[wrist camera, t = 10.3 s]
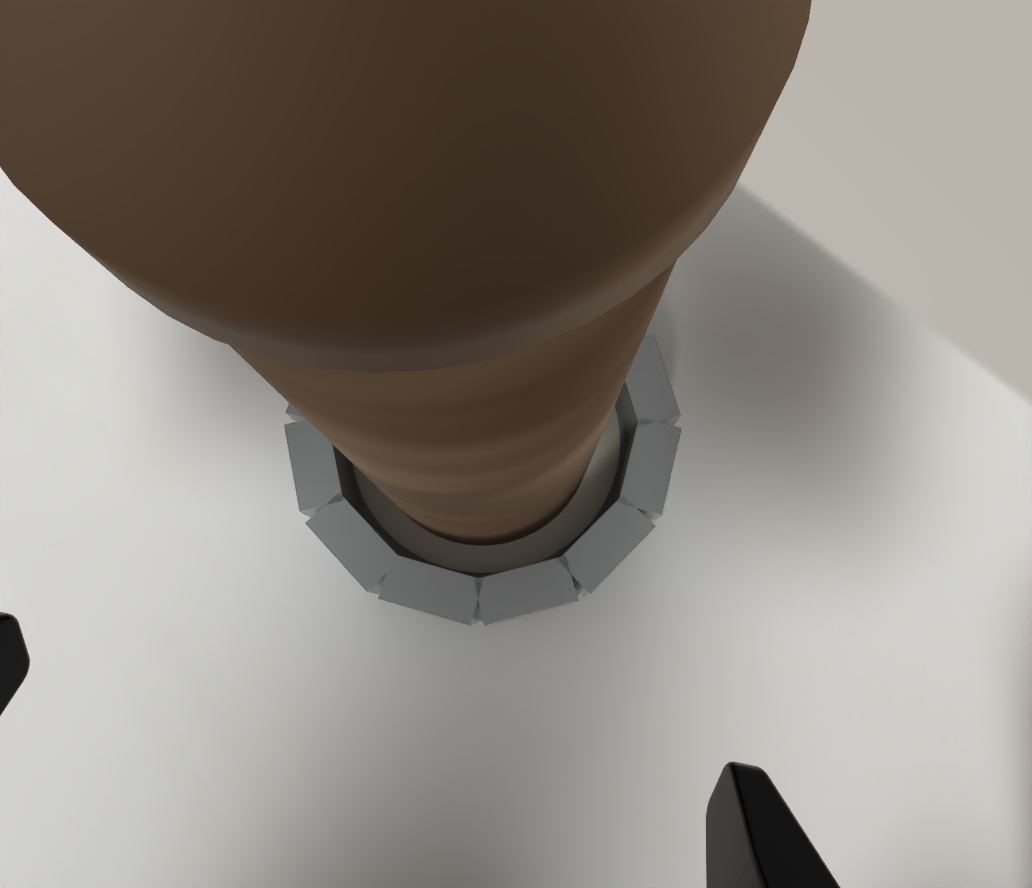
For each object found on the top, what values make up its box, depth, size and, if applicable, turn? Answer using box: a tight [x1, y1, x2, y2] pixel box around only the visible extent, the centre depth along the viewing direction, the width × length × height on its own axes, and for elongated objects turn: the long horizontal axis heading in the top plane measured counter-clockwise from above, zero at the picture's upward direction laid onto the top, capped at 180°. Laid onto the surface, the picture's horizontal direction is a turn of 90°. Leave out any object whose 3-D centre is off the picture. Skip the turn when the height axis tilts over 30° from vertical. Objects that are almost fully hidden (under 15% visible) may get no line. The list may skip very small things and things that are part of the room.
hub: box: [284, 335, 681, 625], centre depth 17 cm, size 9×9×2 cm
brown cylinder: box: [0, 0, 811, 546], centre depth 11 cm, size 6×6×13 cm
